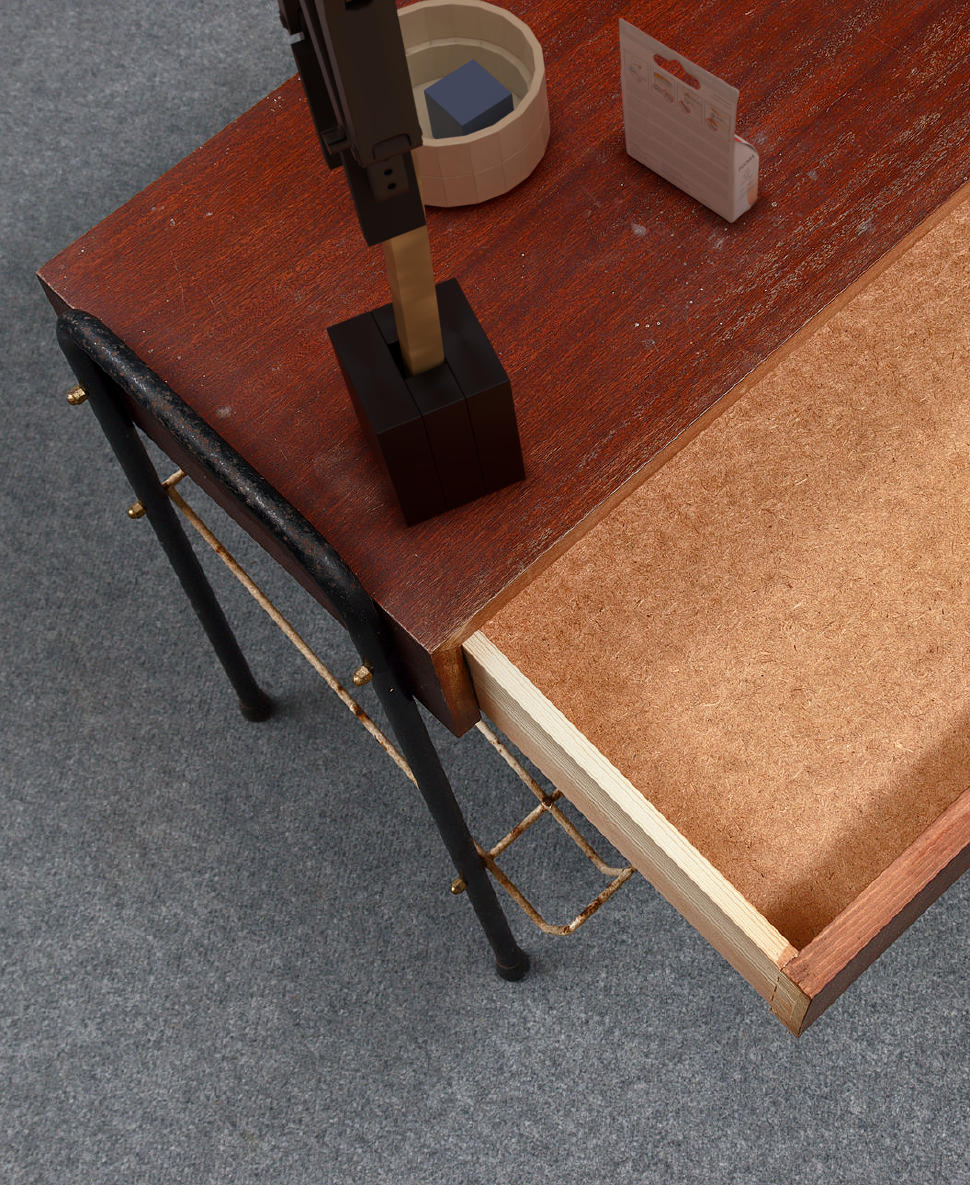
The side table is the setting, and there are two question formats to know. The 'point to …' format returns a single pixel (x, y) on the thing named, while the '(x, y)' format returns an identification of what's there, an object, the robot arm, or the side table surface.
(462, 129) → the block
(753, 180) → the ink box
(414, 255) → the stick
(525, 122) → the bowl
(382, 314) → the stand
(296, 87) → the side table surface
